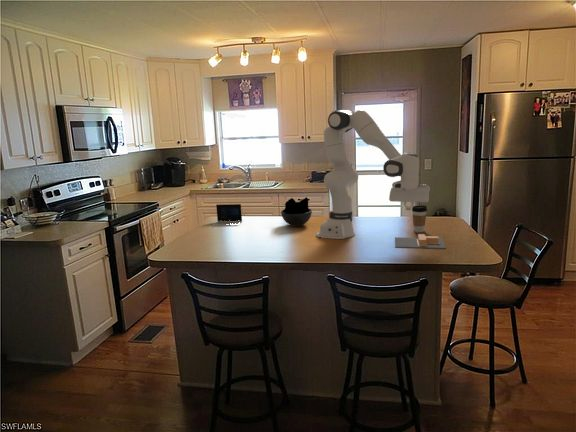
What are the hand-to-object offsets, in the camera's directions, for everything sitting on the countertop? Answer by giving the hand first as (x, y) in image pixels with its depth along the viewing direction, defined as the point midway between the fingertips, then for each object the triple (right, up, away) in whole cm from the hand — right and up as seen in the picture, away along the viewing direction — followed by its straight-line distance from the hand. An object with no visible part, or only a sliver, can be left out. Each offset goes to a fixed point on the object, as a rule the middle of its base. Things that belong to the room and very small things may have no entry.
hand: (408, 209), depth 224 cm
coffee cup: (+14, -12, +27) cm, 33 cm away
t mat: (+6, -18, +2) cm, 19 cm away
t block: (+11, -17, +1) cm, 21 cm away
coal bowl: (-58, -10, +53) cm, 79 cm away
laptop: (-106, -9, +68) cm, 126 cm away
